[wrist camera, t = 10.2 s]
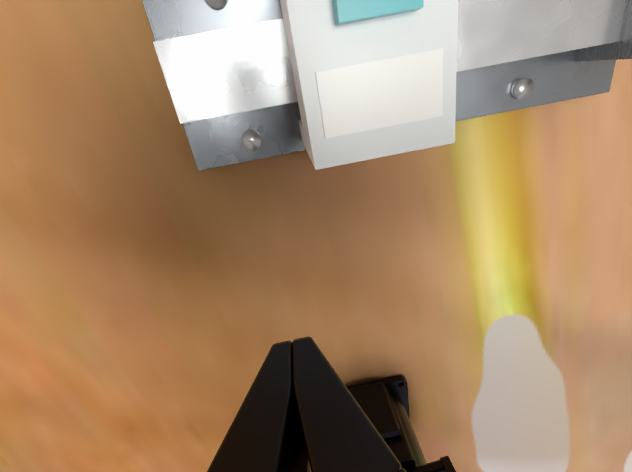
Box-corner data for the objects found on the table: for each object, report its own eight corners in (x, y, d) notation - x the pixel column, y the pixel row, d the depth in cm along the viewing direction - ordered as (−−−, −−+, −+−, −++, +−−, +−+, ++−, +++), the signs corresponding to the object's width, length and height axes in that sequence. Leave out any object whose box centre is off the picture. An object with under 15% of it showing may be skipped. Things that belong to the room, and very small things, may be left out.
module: (397, 122, 17) (464, 145, 11) (302, 140, 17) (317, 174, 11) (388, -51, 14) (473, -146, 8) (271, -30, 14) (269, -111, 8)
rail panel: (595, 91, 18) (669, 94, 15) (201, 166, 18) (183, 188, 14) (634, -102, 15) (742, -157, 11) (141, -17, 14) (99, -47, 11)
